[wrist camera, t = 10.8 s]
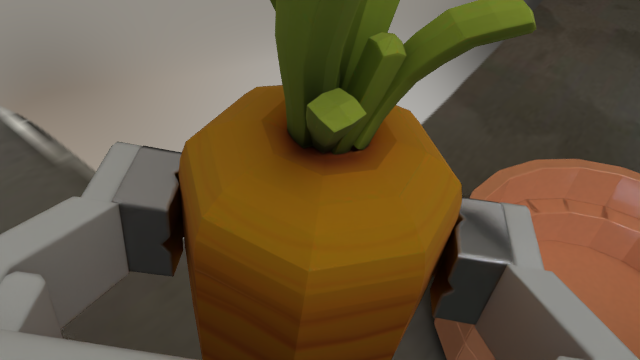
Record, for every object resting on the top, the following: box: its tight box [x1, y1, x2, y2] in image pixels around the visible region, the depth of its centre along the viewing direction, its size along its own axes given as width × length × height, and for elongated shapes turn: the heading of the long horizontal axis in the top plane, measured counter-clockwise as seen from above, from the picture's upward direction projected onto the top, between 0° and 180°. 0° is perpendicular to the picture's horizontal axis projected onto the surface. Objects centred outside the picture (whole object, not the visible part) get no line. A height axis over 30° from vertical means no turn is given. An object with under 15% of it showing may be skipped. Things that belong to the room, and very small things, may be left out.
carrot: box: [179, 0, 536, 360], centre depth 12 cm, size 5×5×15 cm
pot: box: [434, 159, 640, 360], centre depth 29 cm, size 17×17×6 cm
